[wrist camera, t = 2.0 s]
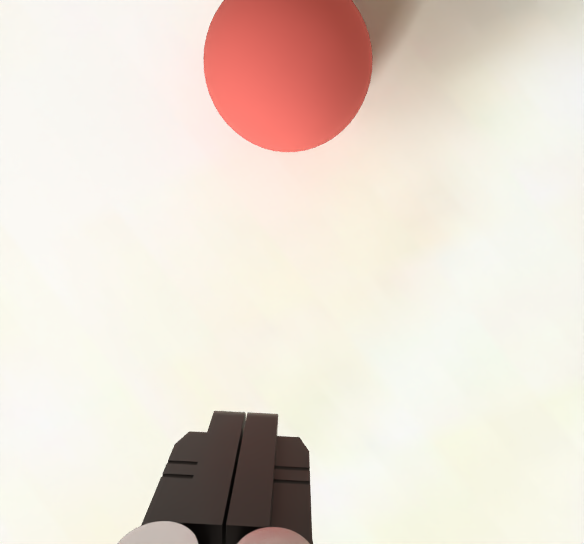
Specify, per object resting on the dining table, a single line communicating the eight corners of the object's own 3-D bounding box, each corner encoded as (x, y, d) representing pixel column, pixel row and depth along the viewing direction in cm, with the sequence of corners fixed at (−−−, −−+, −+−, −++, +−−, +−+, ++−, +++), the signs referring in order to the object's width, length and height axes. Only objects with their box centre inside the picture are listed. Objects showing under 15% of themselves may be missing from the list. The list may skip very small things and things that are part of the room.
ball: (368, 2, 20) (395, -57, 14) (355, 155, 21) (374, 158, 15) (220, -6, 20) (185, -69, 14) (217, 146, 21) (185, 147, 15)
